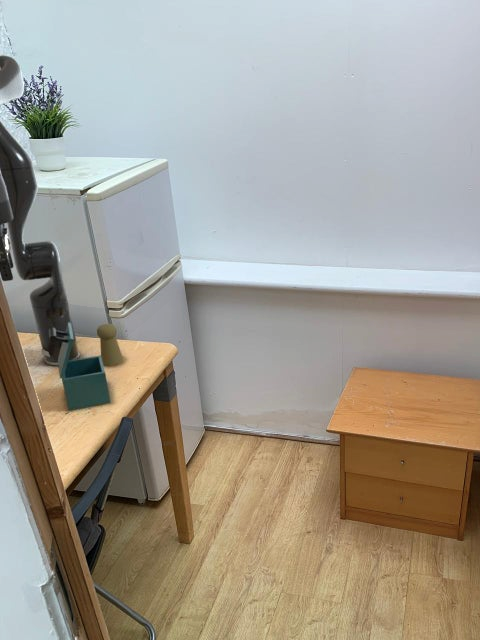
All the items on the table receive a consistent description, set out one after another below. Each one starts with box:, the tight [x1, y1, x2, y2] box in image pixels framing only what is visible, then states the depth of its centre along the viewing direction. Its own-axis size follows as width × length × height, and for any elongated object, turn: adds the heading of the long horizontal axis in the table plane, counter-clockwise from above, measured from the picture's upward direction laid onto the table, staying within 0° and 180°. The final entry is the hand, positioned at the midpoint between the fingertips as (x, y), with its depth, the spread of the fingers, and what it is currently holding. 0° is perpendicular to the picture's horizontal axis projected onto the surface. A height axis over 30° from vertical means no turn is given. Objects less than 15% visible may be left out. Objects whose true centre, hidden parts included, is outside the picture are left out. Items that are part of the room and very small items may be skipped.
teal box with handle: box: [49, 322, 74, 379], centre depth 146 cm, size 10×10×5 cm
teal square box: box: [61, 354, 112, 412], centre depth 153 cm, size 10×10×9 cm
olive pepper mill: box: [96, 323, 124, 367], centre depth 169 cm, size 6×6×11 cm
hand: (8, 273), depth 134 cm, fingers open, 8 cm apart
